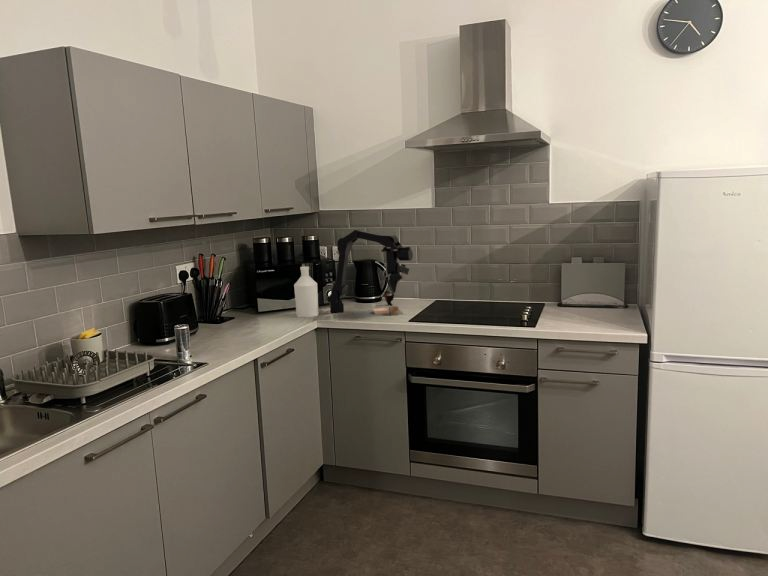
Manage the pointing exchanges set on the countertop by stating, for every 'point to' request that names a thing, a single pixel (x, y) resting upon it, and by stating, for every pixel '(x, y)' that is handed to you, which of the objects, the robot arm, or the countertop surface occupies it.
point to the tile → (380, 311)
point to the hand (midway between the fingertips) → (393, 291)
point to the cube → (393, 310)
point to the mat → (370, 314)
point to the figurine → (388, 297)
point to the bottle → (306, 295)
